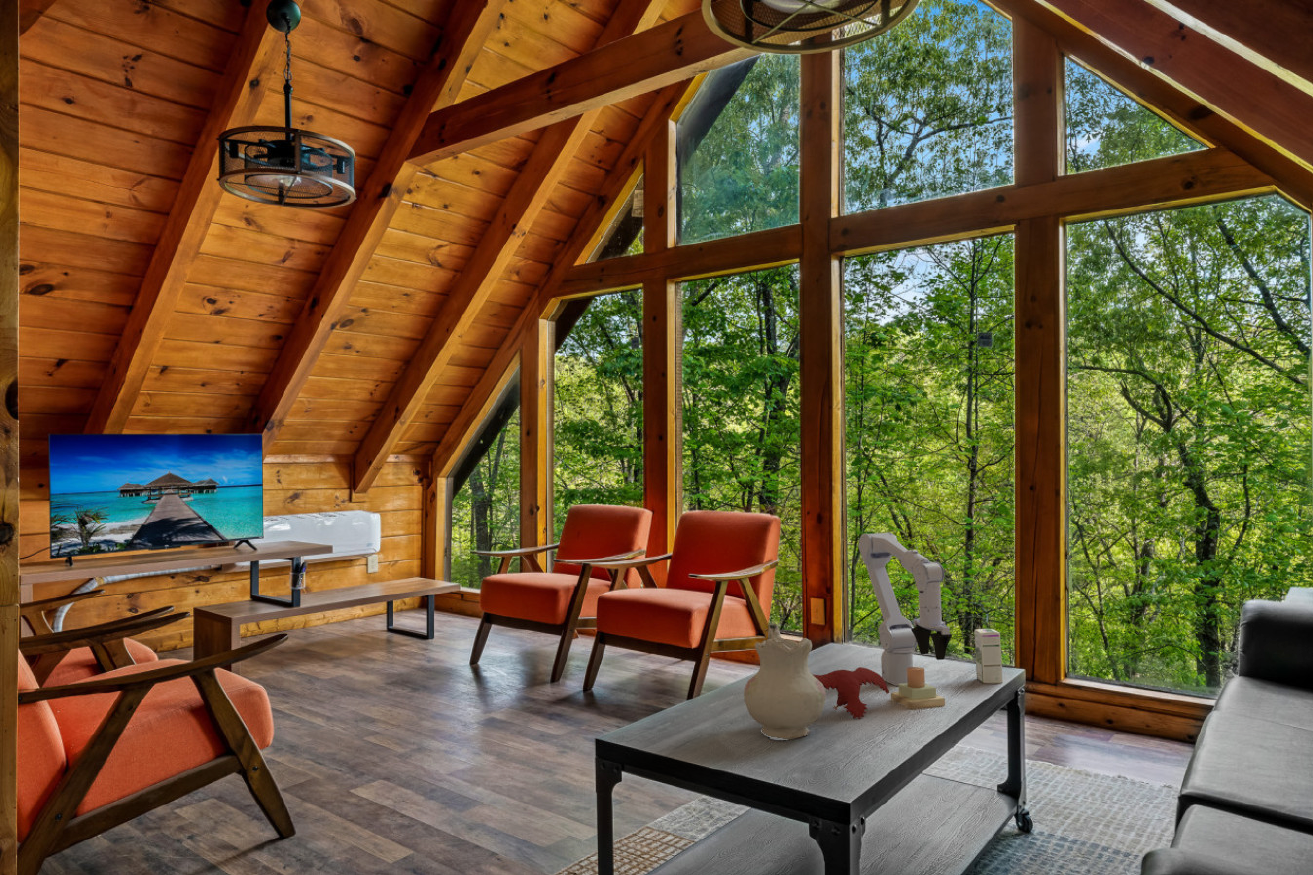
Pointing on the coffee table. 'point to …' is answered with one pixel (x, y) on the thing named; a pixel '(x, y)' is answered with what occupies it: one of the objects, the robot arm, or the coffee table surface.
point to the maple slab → (917, 701)
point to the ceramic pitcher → (784, 687)
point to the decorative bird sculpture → (851, 687)
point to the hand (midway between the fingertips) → (932, 656)
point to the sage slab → (917, 691)
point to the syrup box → (988, 656)
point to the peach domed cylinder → (915, 677)
